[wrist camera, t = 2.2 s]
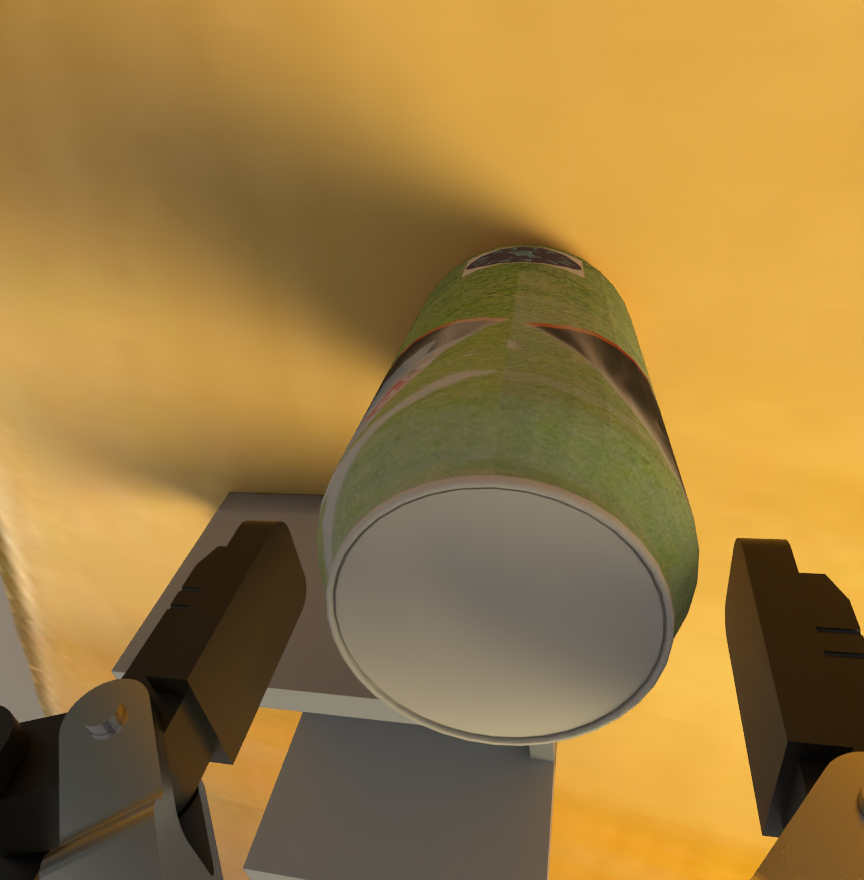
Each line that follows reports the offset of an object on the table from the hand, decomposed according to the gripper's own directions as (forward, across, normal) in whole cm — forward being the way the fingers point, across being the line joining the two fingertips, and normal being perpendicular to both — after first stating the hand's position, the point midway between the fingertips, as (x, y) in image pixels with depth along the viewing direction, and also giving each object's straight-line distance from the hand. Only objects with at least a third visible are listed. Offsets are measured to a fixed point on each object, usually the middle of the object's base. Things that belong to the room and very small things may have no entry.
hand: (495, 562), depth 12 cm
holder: (+9, +6, +13) cm, 17 cm away
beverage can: (+9, 0, -1) cm, 9 cm away
